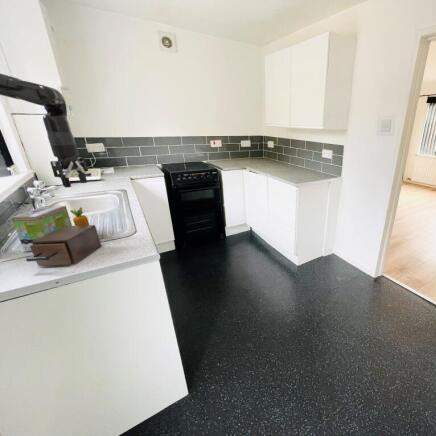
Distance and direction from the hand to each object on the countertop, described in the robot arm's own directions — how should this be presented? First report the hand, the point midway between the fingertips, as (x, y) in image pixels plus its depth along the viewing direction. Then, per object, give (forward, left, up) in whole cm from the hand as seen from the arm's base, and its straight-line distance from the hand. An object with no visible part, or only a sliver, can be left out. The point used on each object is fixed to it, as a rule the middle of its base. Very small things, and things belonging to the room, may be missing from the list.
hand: (76, 184), depth 100 cm
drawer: (+12, -16, -24) cm, 31 cm away
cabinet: (+9, -12, -25) cm, 29 cm away
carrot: (-2, -2, -25) cm, 25 cm away
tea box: (-13, -10, -25) cm, 30 cm away
